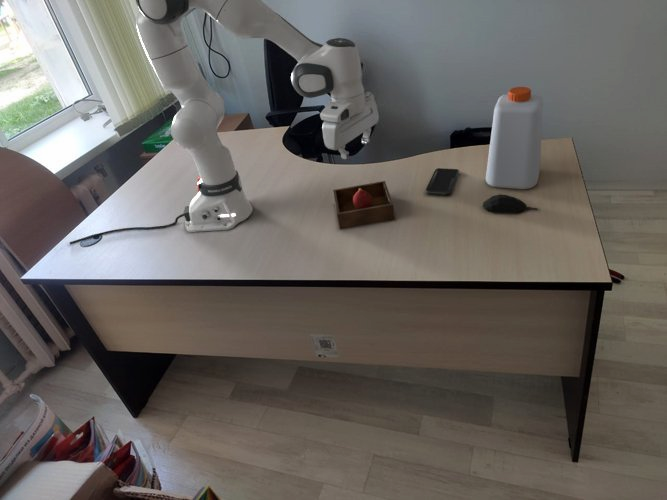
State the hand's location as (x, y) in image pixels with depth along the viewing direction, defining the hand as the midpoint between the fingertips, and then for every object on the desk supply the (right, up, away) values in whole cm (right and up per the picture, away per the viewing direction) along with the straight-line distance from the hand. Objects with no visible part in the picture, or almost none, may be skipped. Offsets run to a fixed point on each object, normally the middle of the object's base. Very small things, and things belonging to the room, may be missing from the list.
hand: (355, 150), depth 135 cm
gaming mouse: (+44, -16, +2) cm, 47 cm away
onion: (+3, -16, +12) cm, 21 cm away
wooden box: (+3, -16, +12) cm, 21 cm away
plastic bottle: (+50, -6, +15) cm, 52 cm away
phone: (+29, -7, +18) cm, 35 cm away
